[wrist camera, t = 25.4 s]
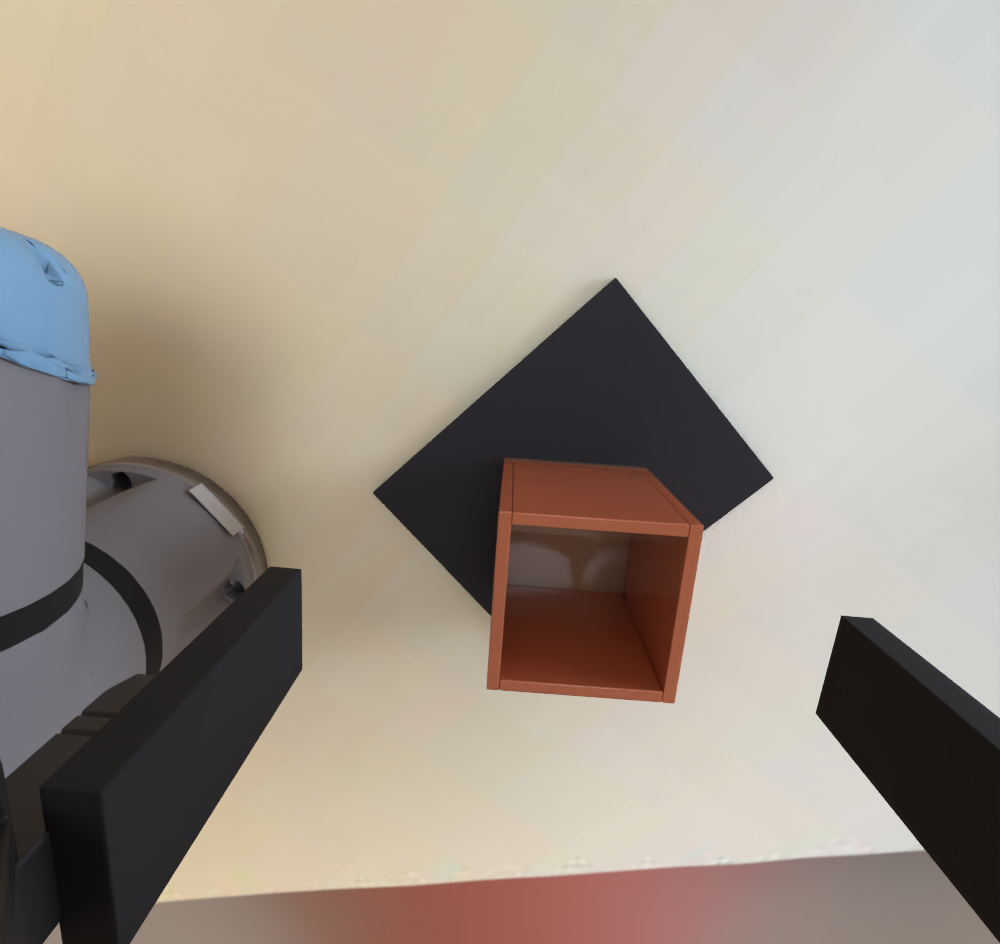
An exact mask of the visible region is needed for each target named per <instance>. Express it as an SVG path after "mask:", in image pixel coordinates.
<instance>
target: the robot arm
mask: <svg viewBox="0 0 1000 944" xmlns="http://www.w3.org/2000/svg"><path fill="white" fill-rule="evenodd" d="M96 378H97V374H96V372H95V371H94V370H93V369H92V368H91V366H90V340H89V310H88V296H87V290H86V287H85V284H84V282H83V280H82V278H81V276H80V275H79V273H78V272H77V270H76V269H75V268H74V266H73V265H72V264H71V263H70V262H69V261H68V260H67V259H66V258H65V257H64V256H63V255H61V254H60V253H59V252H57V251H56V250H54V249H53V248H51V247H49V246H48V245H46V244H44V243H42V242H40V241H38V240H35V239H33V238H30V237H27V236H25V235H22V234H19V233H16V232H13V231H10V230H7V229H5V228H2V227H0V944H43V942H44V941H45V940H46V939H47V937H48V936H49V935H50V933H51V932H52V931H53V929H54V928H55V927H56V926H57V924H58V923H60V929H61V936H62V941H63V944H130V942H131V941H132V939H133V938H134V936H135V934H136V933H137V931H138V930H139V928H140V927H141V925H142V923H143V922H144V920H145V919H146V917H147V915H148V914H149V912H150V911H151V909H152V907H153V906H154V904H155V903H156V901H157V899H158V898H159V896H160V895H161V893H162V891H163V890H164V888H165V887H166V885H167V884H168V882H169V880H170V879H171V877H172V876H173V874H174V872H175V871H176V869H177V868H178V866H179V864H180V863H181V861H182V860H183V858H184V856H185V855H186V853H187V852H188V850H189V848H190V847H191V845H192V844H193V842H194V841H195V839H196V837H197V836H198V834H199V833H200V831H201V829H202V828H203V826H204V825H205V823H206V821H207V820H208V818H209V817H210V815H211V813H212V812H213V810H214V809H215V807H216V806H217V804H218V802H219V801H220V799H221V798H222V796H223V794H224V793H225V791H226V790H227V788H228V786H229V785H230V783H231V782H232V780H233V778H234V777H235V775H236V774H237V772H238V770H239V769H240V767H241V766H242V764H243V763H244V761H245V759H246V758H247V756H248V755H249V753H250V751H251V750H252V748H253V747H254V745H255V743H256V742H257V740H258V739H259V737H260V735H261V734H262V732H263V731H264V729H265V727H266V726H267V724H268V723H269V721H270V720H271V718H272V716H273V715H274V713H275V712H276V710H277V708H278V707H279V705H280V704H281V702H282V700H283V699H284V697H285V696H286V694H287V692H288V691H289V689H290V688H291V686H292V684H293V683H294V681H295V680H296V678H297V677H298V675H299V673H300V672H301V670H302V583H301V569H292V568H280V567H269V568H268V569H266V561H265V557H264V552H263V549H262V546H261V543H260V540H259V538H258V536H257V533H256V531H255V530H254V528H253V526H252V524H251V522H250V521H249V519H248V518H247V516H246V515H245V513H244V512H243V511H242V509H241V508H240V507H239V506H238V504H237V503H236V502H235V501H234V500H233V499H232V498H231V497H230V496H229V495H228V494H227V493H226V492H224V491H223V490H222V489H221V488H220V487H218V486H217V485H216V484H214V483H213V482H212V481H210V480H209V479H207V478H205V477H204V476H202V475H200V474H199V473H197V472H195V471H193V470H191V469H188V468H186V467H183V466H181V465H178V464H175V463H171V462H168V461H163V460H159V459H151V458H123V459H118V460H112V461H109V462H105V463H102V464H99V465H96V466H92V467H89V468H87V462H88V430H89V398H90V385H94V384H95V382H96ZM816 714H817V715H818V717H819V718H820V719H821V720H822V722H823V723H824V724H825V725H826V727H827V728H828V729H829V730H830V732H831V733H832V734H833V735H834V737H835V738H836V739H837V740H838V742H839V743H840V744H841V745H842V747H843V748H844V749H845V750H846V752H847V753H848V754H849V755H850V757H851V758H852V759H853V760H854V762H855V763H856V764H857V765H858V767H859V768H860V769H861V770H862V772H863V773H864V774H865V775H866V777H867V778H868V779H869V780H870V782H871V783H872V784H873V785H874V787H875V788H876V789H877V790H878V792H879V793H880V794H881V795H882V797H883V798H884V799H885V800H886V802H887V803H888V804H889V805H890V807H891V808H892V809H893V810H894V811H895V813H896V814H897V815H898V816H899V818H900V819H901V820H902V821H903V823H904V824H905V825H906V826H907V828H908V829H909V830H910V831H911V833H912V834H913V835H914V836H915V838H916V839H917V840H918V841H919V843H920V844H921V845H922V846H923V848H924V849H925V850H926V851H927V852H928V854H929V855H930V856H931V858H932V859H933V860H934V861H935V863H936V864H937V865H938V866H939V868H940V869H941V870H942V871H943V873H944V874H945V875H946V876H947V877H948V879H949V880H950V881H951V883H952V884H953V885H954V886H955V887H956V889H957V890H958V891H959V892H960V894H961V895H962V896H963V898H964V899H965V900H966V901H967V902H968V904H969V905H970V906H971V908H972V909H973V910H974V911H975V913H976V914H977V915H978V916H979V917H980V919H981V920H982V921H983V922H984V924H985V925H986V926H987V927H988V929H989V930H990V931H991V932H992V933H993V935H994V936H995V937H996V939H997V940H998V941H999V942H1000V718H999V717H998V716H996V715H995V714H994V713H993V712H991V711H990V710H989V709H987V708H986V707H985V706H984V705H982V704H981V703H980V702H979V701H977V700H976V699H975V698H973V697H972V696H971V695H970V694H968V693H967V692H966V691H965V690H963V689H962V688H961V687H960V686H958V685H957V684H956V683H954V682H953V681H952V680H951V679H949V678H948V677H947V676H946V675H944V674H943V673H942V672H940V671H939V670H938V669H937V668H935V667H934V666H933V665H932V664H930V663H929V662H928V661H926V660H925V659H924V658H923V657H921V656H920V655H919V654H918V653H916V652H915V651H914V650H912V649H911V648H910V647H909V646H907V645H906V644H905V643H904V642H902V641H901V640H900V639H898V638H897V637H896V636H895V635H893V634H892V633H891V632H890V631H888V630H887V629H886V628H884V627H883V626H882V625H881V624H879V623H878V622H877V621H876V620H874V619H873V618H863V617H851V616H841V619H840V623H839V627H838V630H837V634H836V638H835V642H834V646H833V649H832V653H831V657H830V661H829V665H828V668H827V672H826V676H825V680H824V684H823V687H822V691H821V695H820V699H819V703H818V706H817V710H816Z"/></svg>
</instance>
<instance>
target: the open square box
mask: <svg viewBox="0 0 1000 944" xmlns="http://www.w3.org/2000/svg"><path fill="white" fill-rule="evenodd" d="M703 529H704V526H703V525H702V524H701V523H700V522H699V521H698V519H697V518H696V517H695V516H694V515H693V514H692V513H691V512H690V511H689V510H688V509H687V508H686V507H685V506H684V505H683V504H682V503H681V502H680V501H679V500H678V499H677V498H676V497H675V496H674V495H673V494H672V493H671V492H670V491H669V490H668V489H667V488H666V487H665V486H664V485H663V484H662V483H661V482H660V481H659V480H658V479H657V478H656V477H655V476H654V475H653V474H652V473H651V472H650V471H649V470H648V469H647V468H646V467H638V466H623V465H609V464H595V463H581V462H566V461H552V460H538V459H524V458H509V457H504V460H503V471H502V481H501V492H500V502H499V513H498V528H497V542H496V557H495V571H494V586H493V601H492V615H491V630H490V644H489V659H488V674H487V689H492V690H498V689H499V690H505V691H519V692H532V693H545V694H559V695H572V696H585V697H599V698H612V699H626V700H639V701H652V702H663V703H674V702H675V696H676V690H677V684H678V678H679V672H680V666H681V660H682V654H683V648H684V642H685V636H686V630H687V624H688V618H689V612H690V606H691V600H692V594H693V588H694V583H695V577H696V571H697V565H698V559H699V553H700V547H701V541H702V535H703Z"/></svg>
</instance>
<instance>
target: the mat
mask: <svg viewBox="0 0 1000 944" xmlns="http://www.w3.org/2000/svg"><path fill="white" fill-rule="evenodd" d="M504 457H509V458H524V459H538V460H552V461H566V462H581V463H595V464H609V465H623V466H638V467H646V468H647V469H648V470H649V471H650V472H651V473H652V474H653V475H654V476H655V477H656V478H657V479H658V480H659V481H660V482H661V483H662V484H663V485H664V486H665V487H666V488H667V489H668V490H669V491H670V492H671V493H672V494H673V495H674V496H675V497H676V498H677V499H678V500H679V501H680V502H681V503H682V504H683V505H684V506H685V507H686V508H687V509H688V510H689V511H690V512H691V513H692V514H693V515H694V516H695V517H696V518H697V519H698V521H699V522H700V523H701V524H702V525H703V526H704V529H703V531H704V530H706V529H707V528H708V527H710V526H711V525H712V524H714V523H715V522H716V521H718V520H719V519H720V518H722V517H723V516H724V515H726V514H727V513H728V512H730V511H731V510H732V509H734V508H735V507H736V506H738V505H739V504H740V503H742V502H743V501H744V500H746V499H747V498H748V497H750V496H751V495H752V494H754V493H755V492H756V491H758V490H759V489H760V488H761V487H763V486H764V485H765V484H767V483H768V482H769V481H771V480H772V479H773V477H772V475H771V474H770V473H769V472H768V470H767V469H766V468H765V466H764V465H763V464H762V463H761V461H760V460H759V459H758V458H757V456H756V455H755V454H754V452H753V451H752V450H751V449H750V447H749V446H748V445H747V444H746V442H745V441H744V440H743V439H742V437H741V436H740V435H739V433H738V432H737V431H736V430H735V428H734V427H733V426H732V425H731V423H730V422H729V421H728V419H727V418H726V417H725V416H724V414H723V413H722V412H721V411H720V409H719V408H718V407H717V406H716V404H715V403H714V402H713V400H712V399H711V398H710V397H709V395H708V394H707V393H706V392H705V390H704V389H703V388H702V386H701V385H700V384H699V383H698V381H697V380H696V379H695V378H694V376H693V375H692V374H691V373H690V371H689V370H688V369H687V367H686V366H685V365H684V364H683V362H682V361H681V360H680V359H679V357H678V356H677V355H676V353H675V352H674V351H673V350H672V348H671V347H670V346H669V345H668V343H667V342H666V341H665V339H664V338H663V337H662V336H661V334H660V333H659V332H658V331H657V329H656V328H655V327H654V326H653V324H652V323H651V322H650V320H649V319H648V318H647V317H646V315H645V314H644V313H643V312H642V310H641V309H640V308H639V306H638V305H637V304H636V303H635V301H634V300H633V299H632V298H631V296H630V295H629V294H628V293H627V291H626V290H625V289H624V287H623V286H622V285H621V284H620V282H619V281H618V280H617V279H616V278H615V279H613V280H612V281H611V282H610V283H609V284H608V285H607V286H606V287H604V288H603V289H602V290H601V291H600V292H599V293H598V294H597V295H595V296H594V297H593V298H592V299H591V300H590V301H589V302H587V303H586V304H585V305H584V306H583V307H582V308H581V309H580V310H578V311H577V312H576V313H575V314H574V315H573V316H572V317H571V318H569V319H568V320H567V321H566V322H565V323H564V324H563V325H562V326H560V327H559V328H558V329H557V330H556V331H555V332H554V333H552V334H551V335H550V336H549V337H548V338H547V339H546V340H545V341H543V342H542V343H541V344H540V345H539V346H538V347H537V348H536V349H534V350H533V351H532V352H531V353H530V354H529V355H528V356H527V357H525V358H524V359H523V360H522V361H521V362H520V363H519V364H517V365H516V366H515V367H514V368H513V369H512V370H511V371H510V372H508V373H507V374H506V375H505V376H504V377H503V378H502V379H501V380H499V381H498V382H497V383H496V384H495V385H494V386H493V387H492V388H490V389H489V390H488V391H487V392H486V393H485V394H484V395H482V396H481V397H480V398H479V399H478V400H477V401H476V402H475V403H473V404H472V405H471V406H470V407H469V408H468V409H467V410H466V411H464V412H463V413H462V414H461V415H460V416H459V417H458V418H457V419H455V420H454V421H453V422H452V423H451V424H450V425H449V426H447V427H446V428H445V429H444V430H443V431H442V432H441V433H440V434H438V435H437V436H436V437H435V438H434V439H433V440H432V441H431V442H429V443H428V444H427V445H426V446H425V447H424V448H423V449H422V450H420V451H419V452H418V453H417V454H416V455H415V456H414V457H412V458H411V459H410V460H409V461H408V462H407V463H406V464H405V465H403V466H402V467H401V468H400V469H399V470H398V471H397V472H396V473H394V474H393V475H392V476H391V477H390V478H389V479H388V480H387V481H385V482H384V483H383V484H382V485H381V486H380V487H379V488H377V489H376V490H375V491H374V492H373V494H374V495H375V496H376V497H377V498H378V499H379V500H380V501H381V502H382V503H383V504H384V505H385V506H386V507H387V508H388V509H389V510H390V511H391V512H392V513H393V514H394V515H395V516H396V517H397V519H398V520H399V521H400V522H401V523H402V524H403V525H404V526H405V527H406V528H407V529H408V530H409V531H410V532H411V533H412V534H413V535H414V536H415V537H416V538H417V539H418V540H419V541H420V542H421V544H422V545H423V546H424V547H425V548H426V549H427V550H428V551H429V552H430V553H431V554H432V555H433V556H434V557H435V558H436V559H437V560H438V561H439V562H440V563H441V564H442V565H443V566H444V567H445V569H446V570H447V571H448V572H449V573H450V574H451V575H452V576H453V577H454V578H455V579H456V580H457V581H458V582H459V583H460V584H461V585H462V586H463V587H464V588H465V589H466V590H467V591H468V592H469V594H470V595H471V596H472V597H473V598H474V599H475V600H476V601H477V602H478V603H479V604H480V605H481V606H482V607H483V608H484V609H485V610H486V611H487V612H488V613H489V614H490V615H492V601H493V586H494V571H495V557H496V542H497V528H498V513H499V502H500V492H501V481H502V471H503V460H504Z"/></svg>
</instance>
